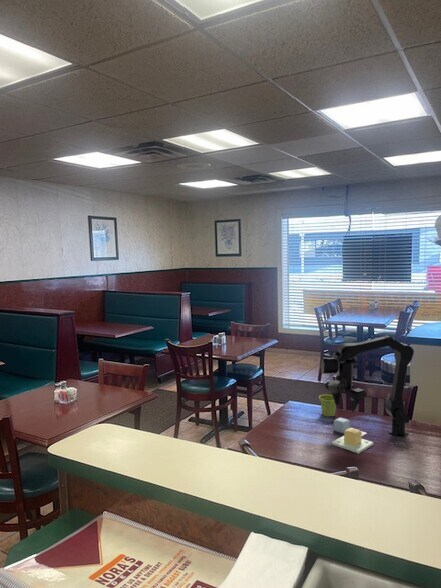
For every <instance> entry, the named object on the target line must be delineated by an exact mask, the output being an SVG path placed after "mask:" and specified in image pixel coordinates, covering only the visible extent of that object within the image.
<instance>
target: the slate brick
mask: <svg viewBox="0 0 441 588" xmlns="http://www.w3.org/2000/svg"><path fill="white" fill-rule="evenodd" d="M350 424H351V420H349V419H347V418H343V417H338V418H336V419H334V420H333V431H334V432H337V433H340V434H344V431H346V430H347V429H349V428H351V425H350Z"/></svg>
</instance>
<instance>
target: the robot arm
mask: <svg viewBox="0 0 441 588" xmlns="http://www.w3.org/2000/svg"><path fill="white" fill-rule="evenodd" d="M386 347H389V348H390V349H392V350H393V356H394V360H395V367H394V374H393V380H392V382H393V383H392V387H391V393H390V396H389V397H385V399H384V404H383V406H384V409H385V411H386V412H387V414H388V415H389V417H390V418H391V429H390V430H389V431H388V434H391V435H394V436H397V437H401V438H404V437H405V436H407V435H408V434H409V431H406V429H407V424H409V422H410V421H411V418H410V416H408V415H407V414H406V413H405V402H404V399H403V397H404V392H405V391H404V390H405V385H406V384H405V383H406V378H407V372H408V371H407V370H408V367H409V365H410V363H411V362H412V360H413V358H414V354H415V351H414V348H413V347H412V346H410V345H408V344H406V343H403V342H399V341H398V340H396V339H394V338H393V337H391V336H389V335H383V336H380V337H376V338H372V339H368V340H365V341H360V342H345V343H340V344H339V345H338V348H337V351H336V352H335V353H334V354H333V356H332V357H322V360H321V363H320V371H321V373H322V374H328V375H329V374H337V373H338V374H337V375H336V376H335V379H333V380H329V381H328V380H327V381H326V382H325V386H324V387H325V389H327V391H328V392H330V393H331V395H333V398H334V401H335V404H336V407H338V406H339V405H340V404H339V403H340V397H341V392H346V393H348V394H349V399H350V400H351V404H350V405H351V406H350V407H351V412H352V413H354V412H355V411H356V409H357V407H358V405H359V403H360V402H361V400H362V399H364V398H366V397H367V391H366V390H365V389H362V388H359V387H358V388H357V387H356V388H355V385H354V384H353V379H355V375H354V374H353V366H354V365H353V364H356V365H357V364H359V363H358V361H357V360H356V359H355V358H356V357H357V356H358V355H361V354H362V353H366V352H369V351H373V350H377V349H381V348H386Z"/></svg>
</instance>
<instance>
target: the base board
mask: <svg viewBox="0 0 441 588" xmlns="http://www.w3.org/2000/svg"><path fill="white" fill-rule="evenodd" d="M331 445H333V446H335V447H339V448H341V449H344V450H348V451H350V452H353V453H356V454H358V455H359V454H360V453H362V452H364V451H365V450H367V449H368V448H370V447H372V446H374V442H373V441H371V440H367V439H364V438H361V443H359V444H357V445H355V446H354V445H351V444H348V443H346V442H344V435H343V436H341V437H339V438H337V439H335V440H332V441H331Z"/></svg>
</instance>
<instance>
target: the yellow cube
mask: <svg viewBox="0 0 441 588" xmlns="http://www.w3.org/2000/svg"><path fill="white" fill-rule="evenodd" d="M362 432H363V431H362V430H360V429H356V428H353V427H350V428H349V429H347V430H346V431H344V435H343V436H344V442H346V443H348V444H351V445H354V446H355V445H357V444H359V443H361V439H362V437H361V434H362Z"/></svg>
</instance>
